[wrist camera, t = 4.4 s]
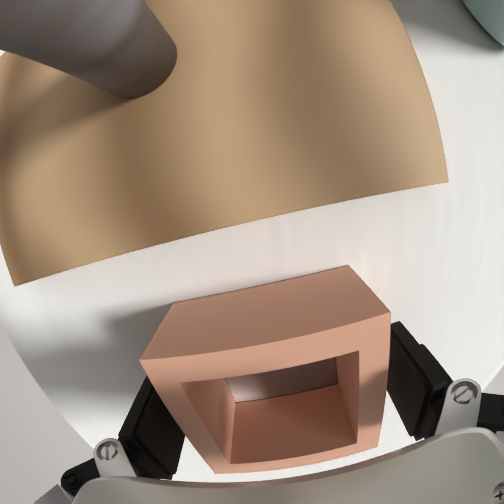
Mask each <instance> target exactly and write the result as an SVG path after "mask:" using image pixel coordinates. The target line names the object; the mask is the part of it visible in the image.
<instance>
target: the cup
mask: <svg viewBox="0 0 504 504" xmlns="http://www.w3.org/2000/svg"><path fill="white" fill-rule="evenodd" d="M462 1H463V2H464V4H465V5H466V7H467V8H468V10H469V11H470V12H471V14H472V15H473V16H474V17H475V19H476V20H477V21H478V22H479V23H480V25H481V26H482V27H483V28H484V29H485V30H486V31H487V32H488V33H489V34H490V35H491V36H492V37H493V38H494V39H495V40H496V41H497V42H499V43H500V44H501V45H503V46H504V0H462Z"/></svg>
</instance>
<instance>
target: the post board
mask: <svg viewBox="0 0 504 504" xmlns="http://www.w3.org/2000/svg"><path fill="white" fill-rule="evenodd" d="M0 50H3V51H6V52H5V53H4V54H3V55H2V56H1V57H0V245H1V248H2V251H3V255H4V258H5V261H6V264H7V267H8V270H9V273H10V276H11V279H12V281H13V284H14V287H15V286H18V285H21V284H25V283H28V282H31V281H34V280H37V279H40V278H43V277H47V276H50V275H53V274H56V273H60V272H63V271H66V270H70V269H73V268H76V267H80V266H83V265H87V264H90V263H94V262H97V261H100V260H104V259H107V258H111V257H115V256H118V255H122V254H125V253H129V252H133V251H136V250H140V249H144V248H147V247H151V246H155V245H159V244H162V243H166V242H170V241H174V240H178V239H182V238H186V237H190V236H194V235H198V234H202V233H206V232H210V231H214V230H218V229H222V228H226V227H230V226H234V225H239V224H243V223H247V222H251V221H256V220H260V219H264V218H269V217H273V216H277V215H282V214H286V213H291V212H295V211H300V210H305V209H309V208H314V207H319V206H323V205H328V204H333V203H338V202H343V201H348V200H353V199H358V198H363V197H368V196H373V195H378V194H384V193H389V192H394V191H400V190H405V189H411V188H416V187H422V186H428V185H434V184H440V183H446V182H448V174H447V167H446V161H445V155H444V149H443V144H442V139H441V134H440V130H439V126H438V121H437V117H436V113H435V110H434V106H433V102H432V99H431V95H430V92H429V89H428V86H427V83H426V80H425V77H424V74H423V71H422V68H421V66H420V63H419V60H418V58H417V55H416V53H415V50H414V48H413V46H412V43H411V41H410V39H409V36H408V34H407V32H406V30H405V28H404V26H403V24H402V22H401V20H400V18H399V16H398V14H397V12H396V10H395V8H394V6H393V5H392V3H391V1H390V0H0Z"/></svg>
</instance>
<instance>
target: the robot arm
mask: <svg viewBox="0 0 504 504" xmlns="http://www.w3.org/2000/svg"><path fill="white" fill-rule="evenodd" d="M386 389H387V391H388V393H389V395H390V397H391V399H392V401H393V403H394V405H395V407H396V409H397V411H398V413H399V415H400V417H401V419H402V421H403V423H404V426H405V428H406V430H407V432H408V434H409V435H410V436H414V438H415V440H416V441H418V440H420V439H422V438H425V440H422V441H419V442H417V443H414V444H411V445H409V446H406V447H404V448H401V449H399V450H396V451H393V452H390V453H387V454H385V455H382V456H378V457H375V458H372V459H369V460H366V461H363V462H359V463H356V464H352V465H348V466H345V467H341V468H337V469H332V470H328V471H323V472H319V473H313V474H308V475H302V476H296V477H290V478H282V479H274V480H264V481H251V482H228V483H206V482H184V481H171V480H172V476H173V474H175V473H176V471H177V467H178V463H179V459H180V455H181V451H182V447H183V443H184V439H185V434H184V433H183V431H182V430H181V428H180V427H179V425H178V424H177V422H176V421H175V420H174V418H173V417H172V415H171V414H170V412H169V410H168V409H167V407H166V406H165V404H164V403H163V401H162V399H161V398H160V396H159V395H158V393H157V391H156V390H155V388H154V386H153V385H152V383H151V381H150V379H149V378H148V376H146V378H145V380H144V382H143V384H142V386H141V388H140V390H139V392H138V394H137V396H136V398H135V400H134V402H133V405H132V407H131V409H130V411H129V413H128V415H127V417H126V419H125V421H124V423H123V426H122V428H121V430H120V432H119V434H118V436H119V438H118V440H117V439H114V438H107V439H104V440H102V441H100V442H99V443H98V444H97V445H96V447H95V448H94V452H93V453H94V458H92V459H90V460H88V461H86V462H84V463H82V464H80V465H78V466H75V467H73V468H71V469H69V470H67V471H66V472H65V473H64V474H63V475H62V478H61V486H60V485H58V484H57V485H56V486H54V487H53V488H52V489H51V490H49V491H48V492H47V493H46V494H45V495H43V496H42V497H40V498H39V499H38V500H37V501H36V502H35V503H34V504H504V395H497V394H488V393H481V388H480V385H479V384H478V383H477V382H476V381H474V380H472V379H468V378H463V379H459V380H456V381H453V380H452V379H451V378H450V376H449V375H448V374H447V372H446V371H445V370H444V369H443V367H442V366H441V365H440V364H439V362H438V361H437V360H436V359H435V357H434V356H433V355H432V354H431V353H430V351H429V350H428V349H427V348H426V346H424V345H423V344H420V345H419V343H418V342H417V341H416V340H415V339H414V337H413V336H412V335H411V334H410V333H409V331H408V330H407V329H406V328H405V327H404V325H403V324H402V323H401V322H400V321H398V322H395V323H392V324H391V326H390V352H389V367H388V379H387V388H386ZM160 479H167V480H160Z"/></svg>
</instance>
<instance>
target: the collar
mask: <svg viewBox="0 0 504 504" xmlns="http://www.w3.org/2000/svg"><path fill="white" fill-rule="evenodd" d="M390 326H391V312H390V311H389V309H388V308H387V307H386V306H385V305H384V304H383V303H382V301H381V300H380V299H379V298H378V297H377V296H376V295H375V294H374V292H373V291H372V290H371V289H370V288H369V287H368V286H367V285H366V284H365V282H364V281H363V280H362V279H361V278H360V277H359V276H358V275H357V274H356V273H355V272H354V270H353V269H352V268H351V267H350V266H349V265H347V266H343V267H339V268H335V269H331V270H327V271H323V272H318V273H314V274H310V275H306V276H301V277H297V278H293V279H288V280H284V281H279V282H275V283H270V284H265V285H261V286H256V287H251V288H247V289H242V290H237V291H232V292H227V293H222V294H217V295H212V296H207V297H202V298H197V299H192V300H186V301H181V302H176V303H173V304H172V306H171V307H170V309H169V310H168V312H167V314H166V315H165V317H164V319H163V320H162V322H161V324H160V325H159V327H158V328H157V330H156V332H155V333H154V335H153V337H152V339H151V340H150V342H149V344H148V345H147V347H146V349H145V350H144V352H143V354H142V355H141V357H140V359H139V361H140V363H141V365H142V367H143V369H144V371H145V372H146V374H147V376H148V378H149V379H150V381H151V383H152V385H153V386H154V388H155V390H156V391H157V393H158V395H159V396H160V398H161V399H162V401H163V403H164V404H165V406H166V407H167V409H168V410H169V412H170V414H171V415H172V417H173V418H174V420H175V421H176V422H177V424H178V425H179V427H180V428H181V430H182V431H183V433H184V434H185V435H186V437H187V438H188V439H189V441H190V442H191V444H192V445H193V446H194V448H195V449H196V450H197V451H198V453H199V454H200V455H201V457H202V458H203V459H204V460H205V462H206V463H207V464H208V465H209V467H210V468H211V469H212V470H213V471H214V473H215V474H225V473H248V472H260V471H270V470H279V469H286V468H293V467H299V466H305V465H310V464H315V463H320V462H324V461H329V460H333V459H337V458H341V457H345V456H349V455H352V454H356V453H359V452H362V451H366V450H369V449H372V448H375V447H377V446H378V441H379V436H380V430H381V425H382V419H383V412H384V405H385V397H386V388H387V379H388V367H389V352H390ZM333 357H336V366H337V378H338V384H335V385H331V386H327V387H323V388H319V389H315V390H310V391H306V392H301V393H296V394H291V395H286V396H280V397H275V398H268V399H262V400H255V401H248V402H240V403H235V401H234V398H233V396H232V394H231V391H230V389H229V387H228V384H227V382H226V380H225V378H229V377H236V376H243V375H250V374H256V373H262V372H268V371H274V370H279V369H284V368H289V367H294V366H299V365H303V364H308V363H312V362H316V361H321V360H325V359H329V358H333Z"/></svg>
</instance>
